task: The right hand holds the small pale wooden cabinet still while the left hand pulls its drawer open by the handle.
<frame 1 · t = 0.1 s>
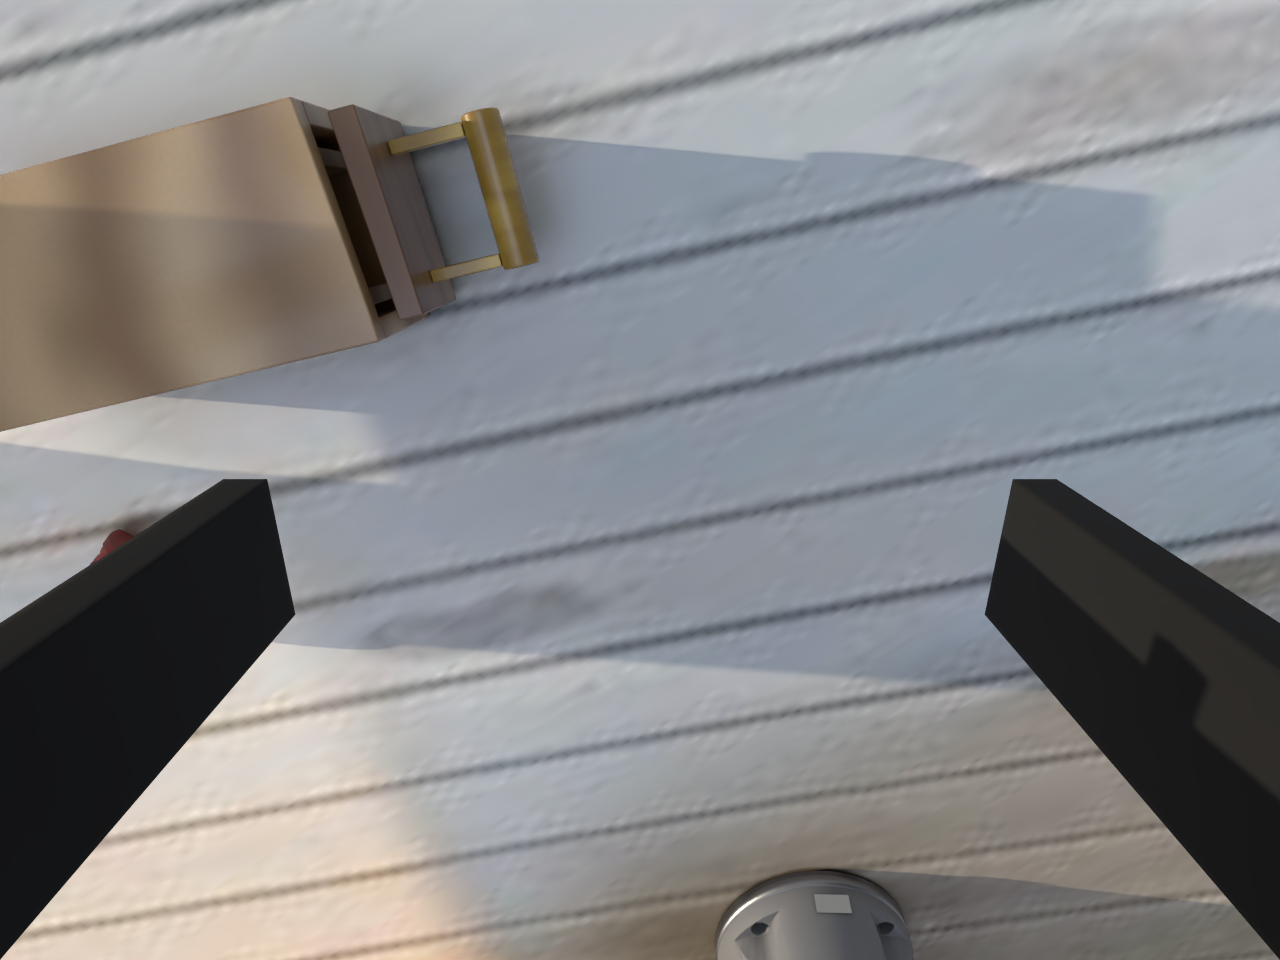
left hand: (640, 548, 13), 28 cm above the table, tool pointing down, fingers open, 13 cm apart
dental model: (148, 581, 45), on the table
cabinet: (228, 266, 38), on the table
drawer: (283, 246, 33), point 4 cm above the table, slide at 0.8 cm
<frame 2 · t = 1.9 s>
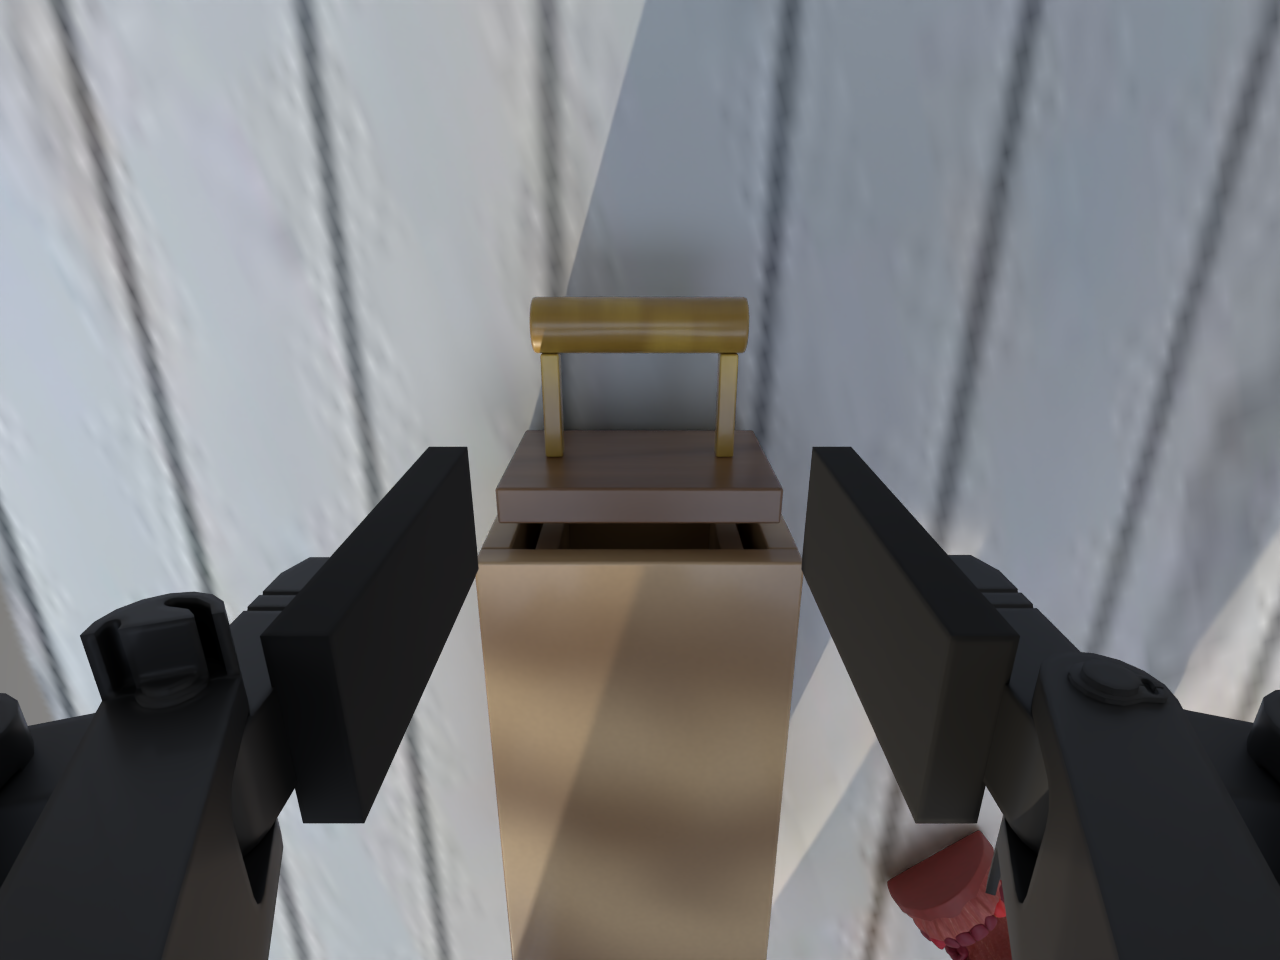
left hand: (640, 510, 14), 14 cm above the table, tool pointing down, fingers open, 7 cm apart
dental model: (958, 881, 37), on the table
cabinet: (639, 669, 32), on the table
drawer: (639, 618, 26), point 4 cm above the table, slide at 0.8 cm
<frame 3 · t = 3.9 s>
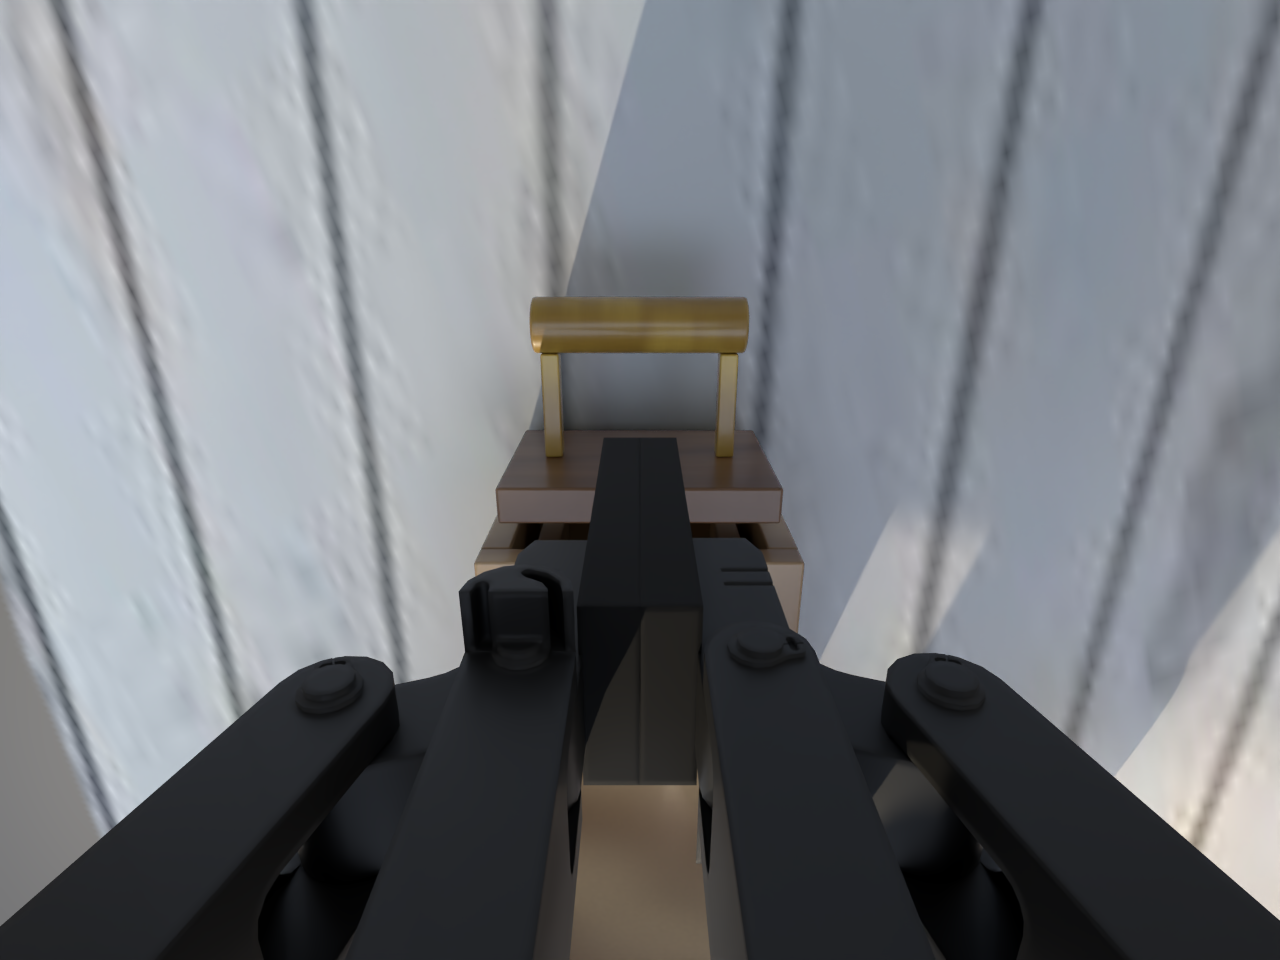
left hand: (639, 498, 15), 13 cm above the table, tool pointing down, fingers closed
cabinet: (639, 669, 32), on the table, touching right hand
drawer: (639, 618, 26), point 4 cm above the table, slide at 0.8 cm
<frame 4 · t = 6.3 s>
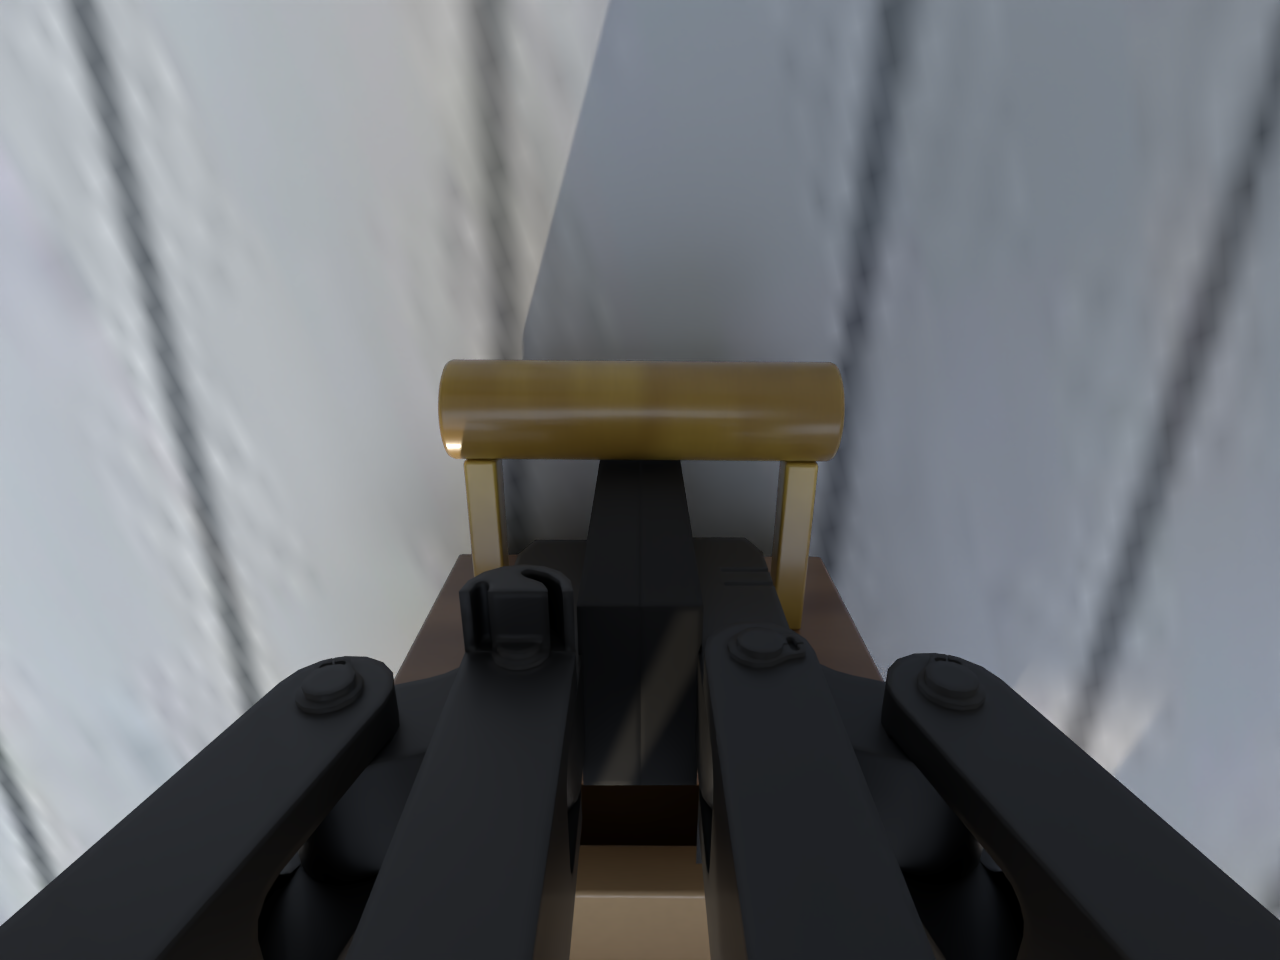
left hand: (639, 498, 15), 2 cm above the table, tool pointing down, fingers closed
cabinet: (637, 881, 22), on the table, touching right hand
drawer: (637, 860, 16), point 4 cm above the table, slide at 1.2 cm, touching left hand
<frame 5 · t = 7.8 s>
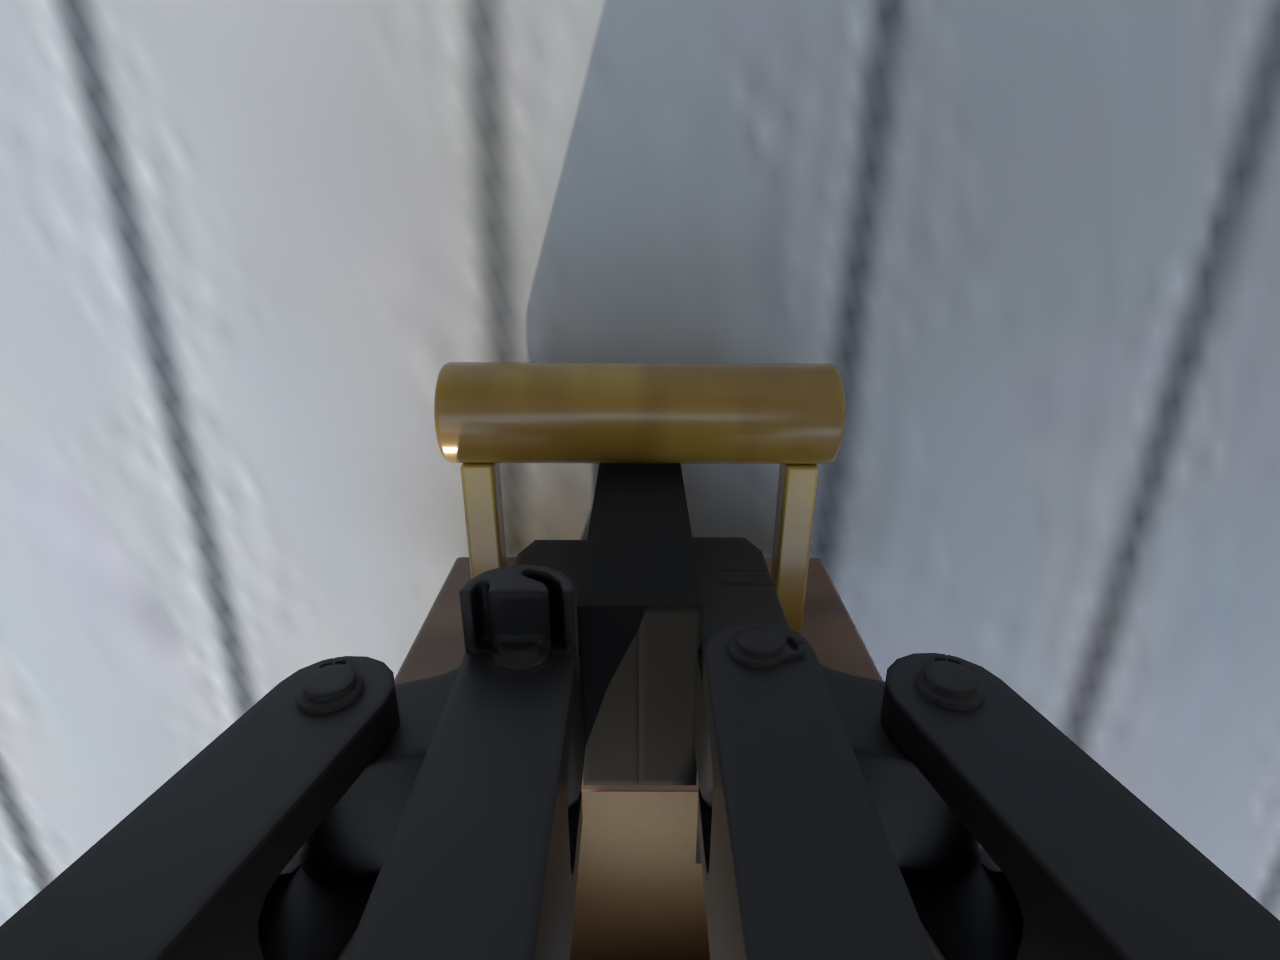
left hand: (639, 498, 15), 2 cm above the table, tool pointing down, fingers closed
drawer: (637, 864, 16), point 4 cm above the table, slide at 9.8 cm, touching left hand
when the right hand's fingers open (3 cm above the table, at t = 9.3 s): cabinet stays where it is, on the table.
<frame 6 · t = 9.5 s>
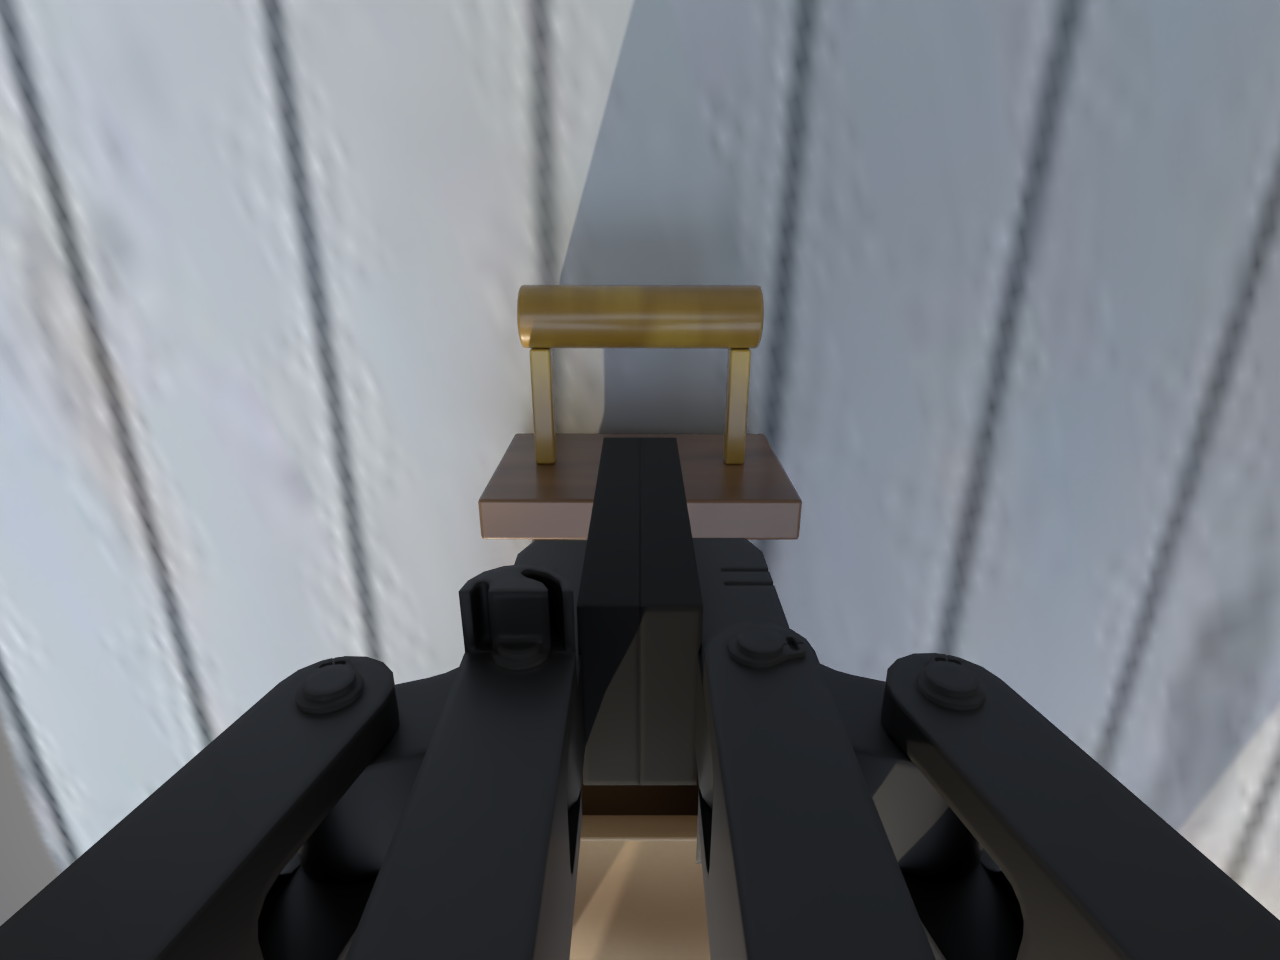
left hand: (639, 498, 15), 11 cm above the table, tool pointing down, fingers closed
cabinet: (639, 850, 33), on the table
drawer: (639, 640, 24), point 4 cm above the table, slide at 9.9 cm
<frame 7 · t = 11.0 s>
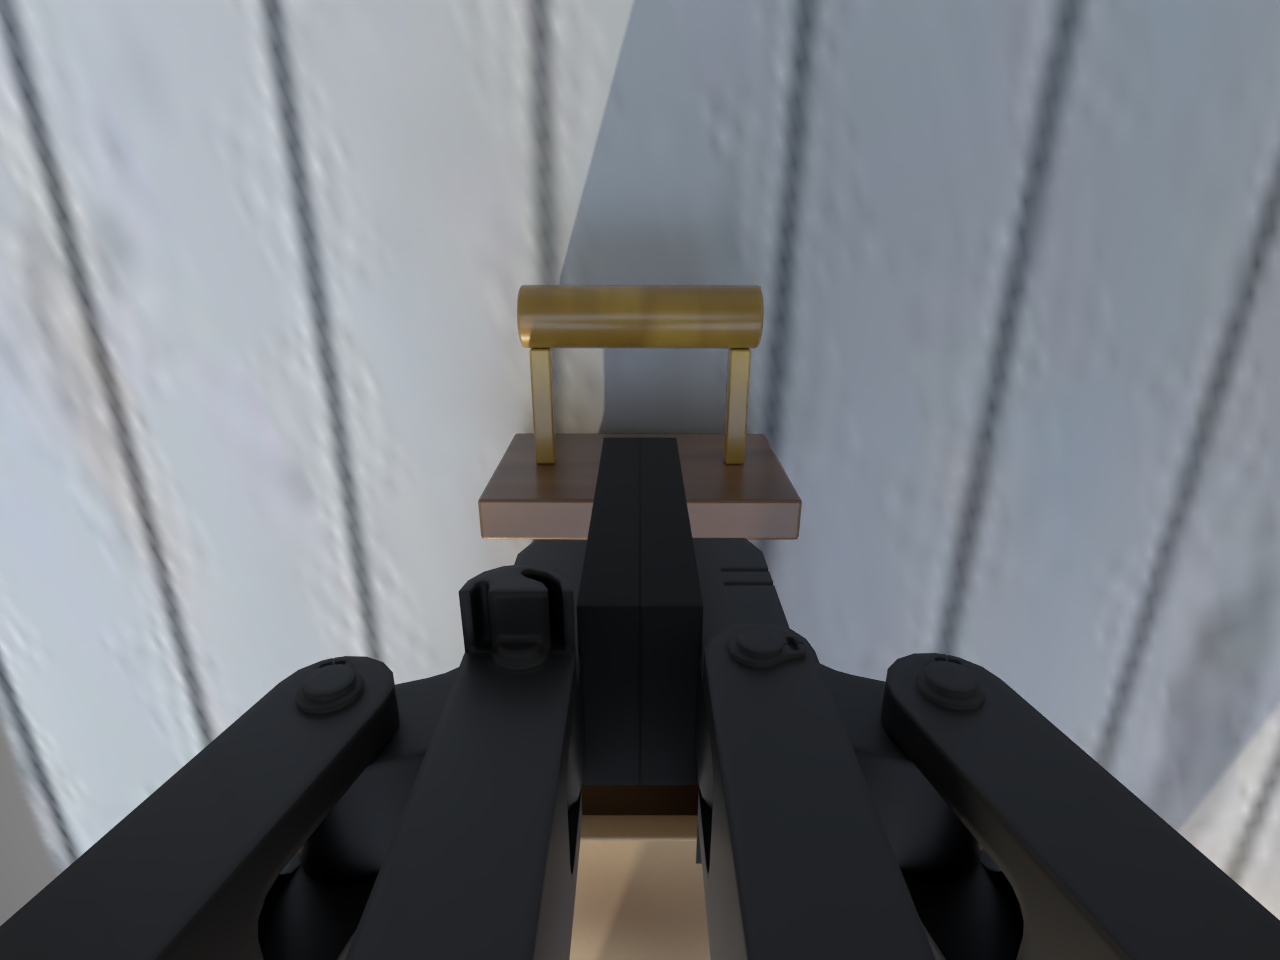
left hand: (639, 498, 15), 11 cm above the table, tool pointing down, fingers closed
cabinet: (639, 850, 33), on the table
drawer: (639, 640, 24), point 4 cm above the table, slide at 9.9 cm
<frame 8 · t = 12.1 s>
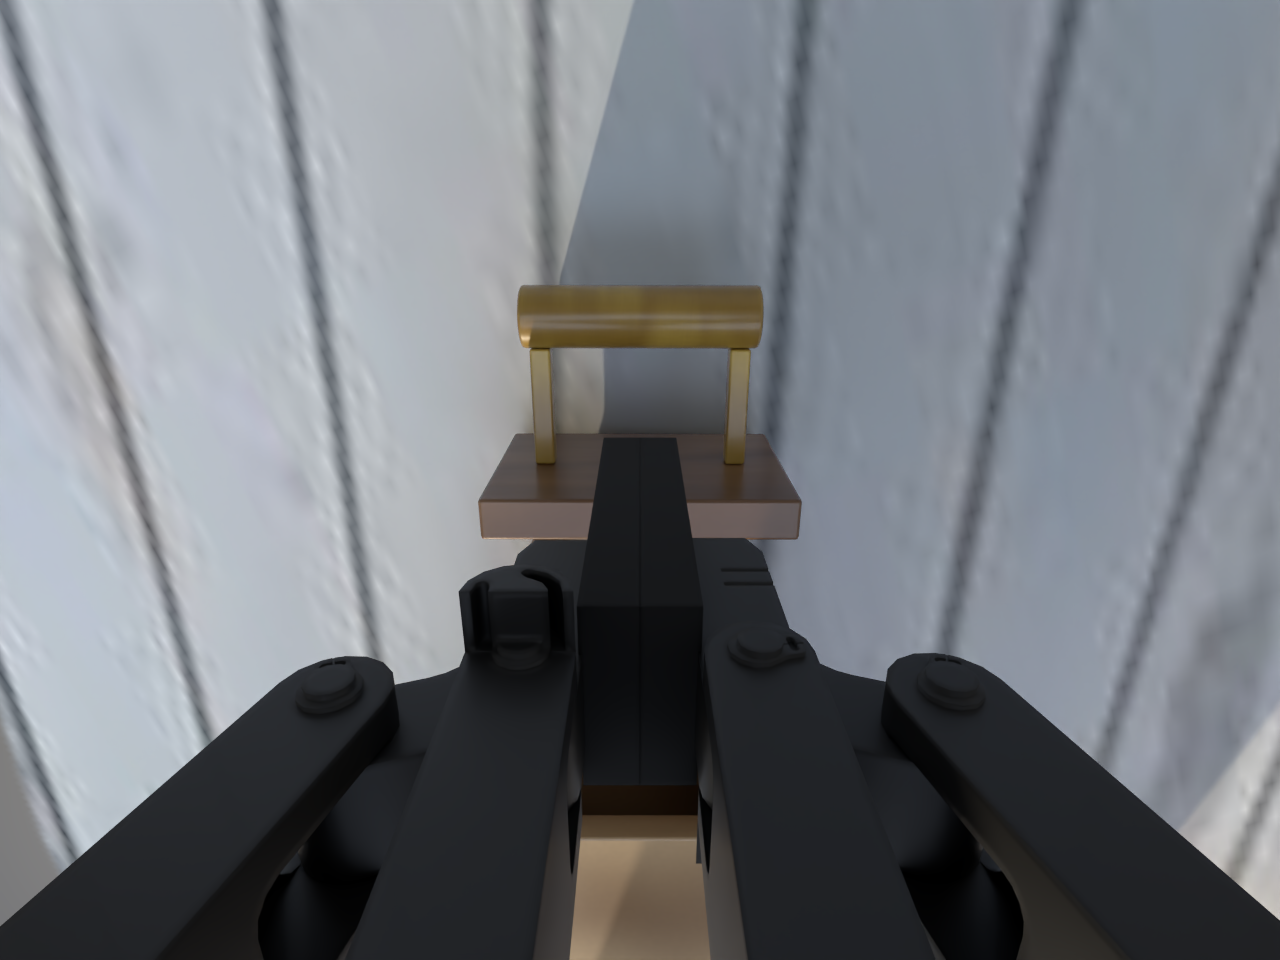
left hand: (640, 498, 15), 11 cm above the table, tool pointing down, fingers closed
cabinet: (639, 850, 33), on the table
drawer: (639, 640, 24), point 4 cm above the table, slide at 9.9 cm
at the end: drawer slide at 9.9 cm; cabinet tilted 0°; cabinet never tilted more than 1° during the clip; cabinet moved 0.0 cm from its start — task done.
